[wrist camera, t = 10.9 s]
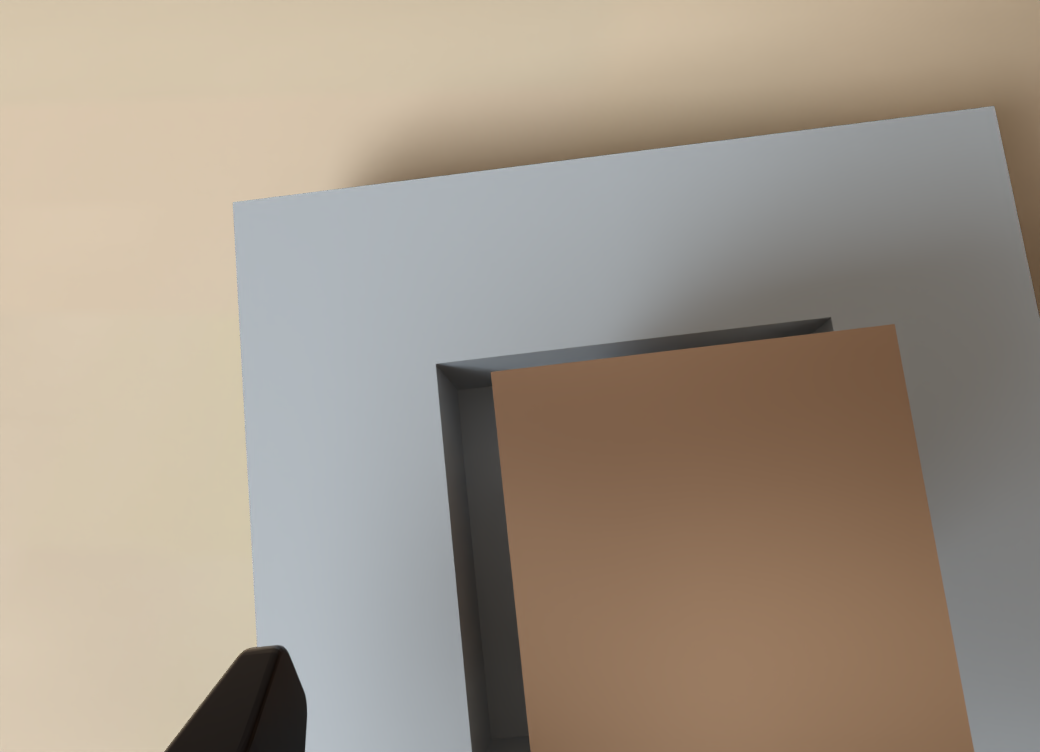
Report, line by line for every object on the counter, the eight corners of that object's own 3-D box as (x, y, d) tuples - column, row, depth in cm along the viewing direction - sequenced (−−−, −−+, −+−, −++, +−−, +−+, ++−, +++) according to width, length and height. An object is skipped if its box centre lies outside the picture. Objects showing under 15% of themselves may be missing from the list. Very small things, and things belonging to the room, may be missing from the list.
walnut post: (759, 636, 18) (974, 751, 8) (557, 657, 18) (535, 795, 9) (729, 434, 19) (894, 324, 9) (535, 457, 19) (490, 371, 9)
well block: (1045, 862, 18) (1175, 952, 14) (341, 928, 19) (278, 1031, 15) (914, 188, 21) (994, 106, 17) (297, 264, 21) (232, 202, 17)
